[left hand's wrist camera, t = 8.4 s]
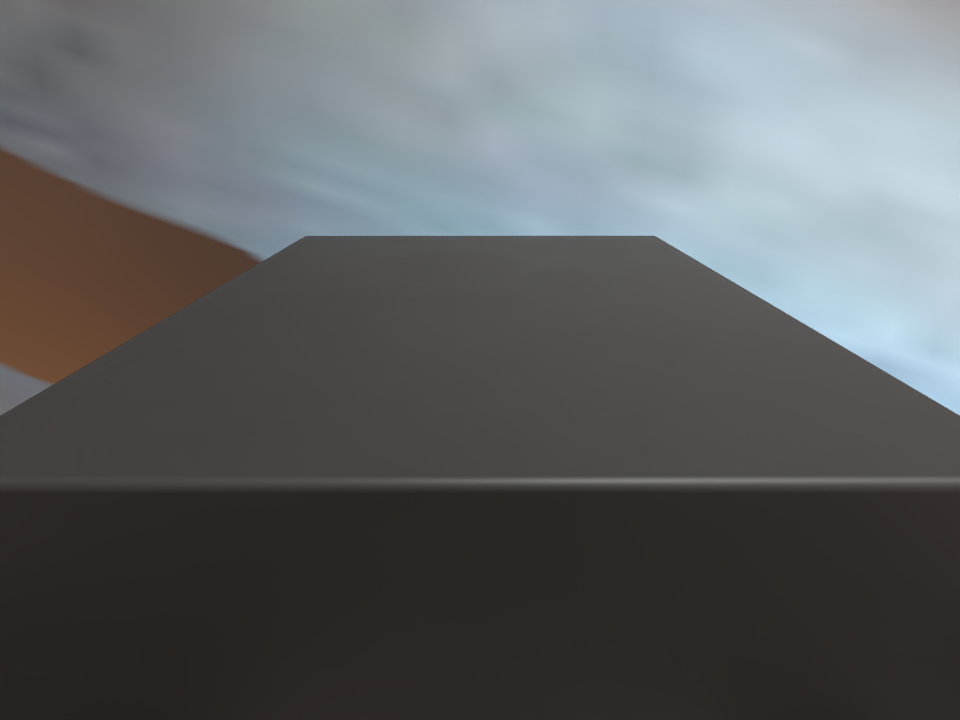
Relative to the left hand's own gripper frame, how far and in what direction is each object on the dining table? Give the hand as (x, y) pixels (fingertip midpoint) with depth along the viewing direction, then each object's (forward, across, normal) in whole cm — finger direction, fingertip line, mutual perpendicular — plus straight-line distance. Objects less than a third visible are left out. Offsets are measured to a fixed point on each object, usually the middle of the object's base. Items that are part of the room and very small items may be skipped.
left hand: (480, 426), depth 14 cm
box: (+2, 0, -9) cm, 9 cm away
